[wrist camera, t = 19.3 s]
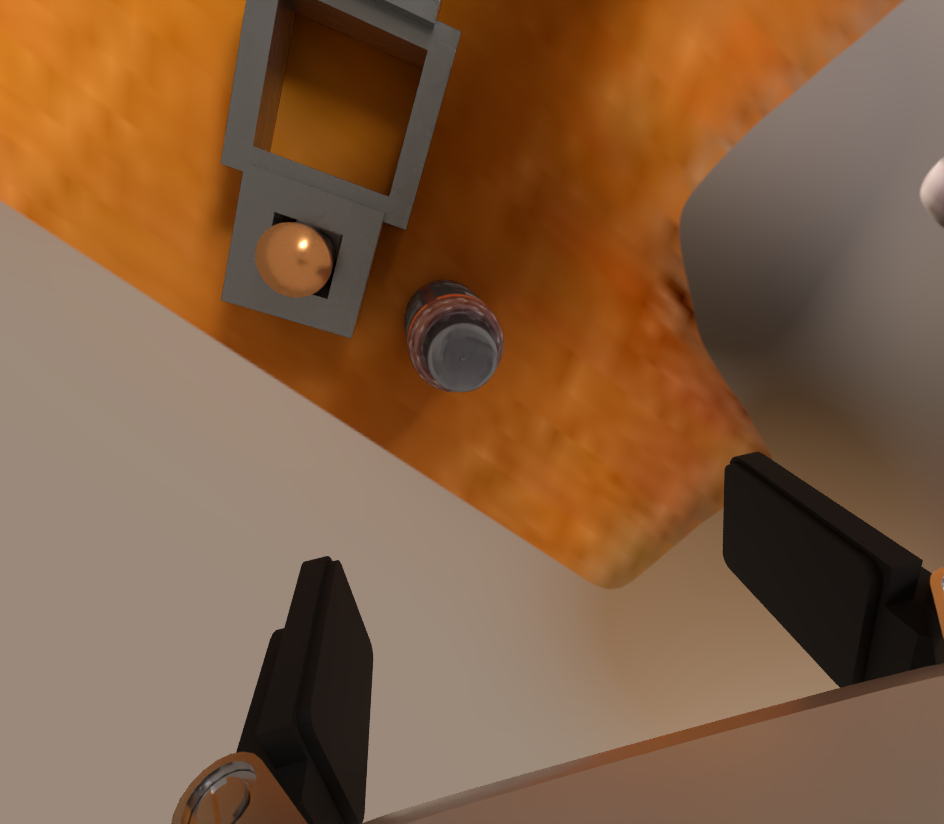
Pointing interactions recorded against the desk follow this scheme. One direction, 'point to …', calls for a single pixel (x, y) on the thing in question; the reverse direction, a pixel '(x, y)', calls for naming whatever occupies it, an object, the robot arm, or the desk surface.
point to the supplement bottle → (452, 337)
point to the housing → (309, 190)
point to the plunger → (294, 259)
